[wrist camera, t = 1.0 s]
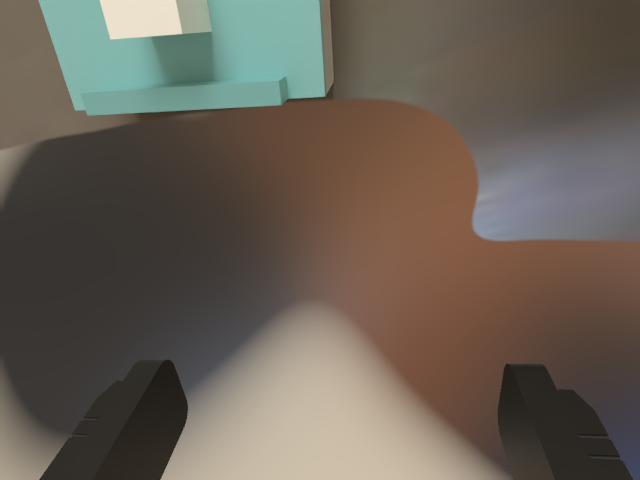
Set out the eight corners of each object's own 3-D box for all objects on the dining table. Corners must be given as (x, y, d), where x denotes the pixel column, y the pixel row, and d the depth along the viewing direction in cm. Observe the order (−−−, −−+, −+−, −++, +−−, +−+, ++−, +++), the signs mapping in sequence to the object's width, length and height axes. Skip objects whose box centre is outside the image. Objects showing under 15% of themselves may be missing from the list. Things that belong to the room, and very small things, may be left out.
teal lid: (30, -57, 22) (-13, -66, 19) (315, -89, 20) (307, -104, 18) (83, 108, 26) (53, 117, 23) (326, 94, 24) (321, 103, 21)
